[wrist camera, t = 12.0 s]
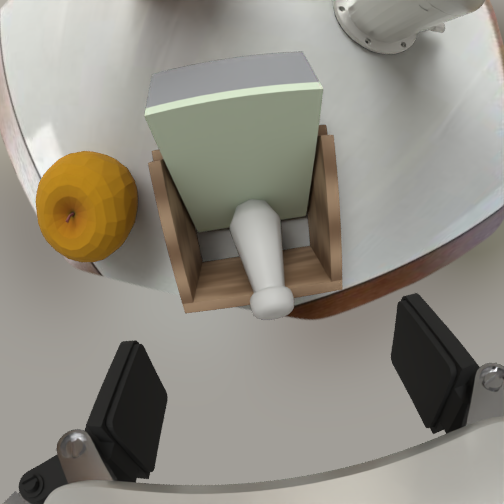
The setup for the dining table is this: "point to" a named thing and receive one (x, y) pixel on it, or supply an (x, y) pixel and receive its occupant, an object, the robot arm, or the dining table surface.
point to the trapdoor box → (231, 269)
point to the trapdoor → (238, 133)
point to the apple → (86, 205)
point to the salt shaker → (262, 258)
